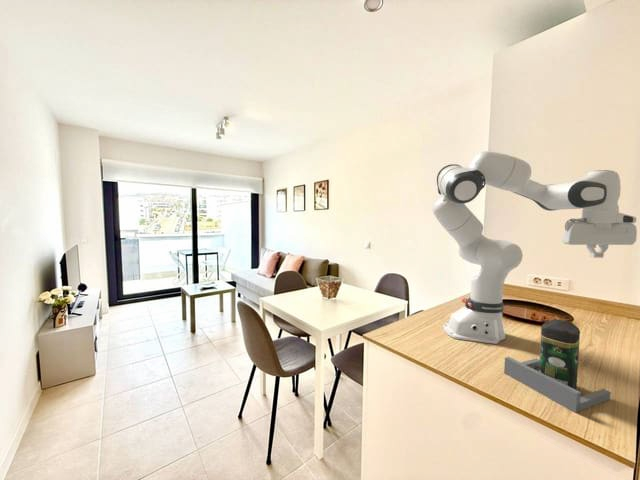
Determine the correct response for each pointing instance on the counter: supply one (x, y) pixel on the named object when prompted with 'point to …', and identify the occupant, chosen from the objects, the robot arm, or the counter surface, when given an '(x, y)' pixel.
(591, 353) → the counter surface
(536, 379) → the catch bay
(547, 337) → the coffee jar
